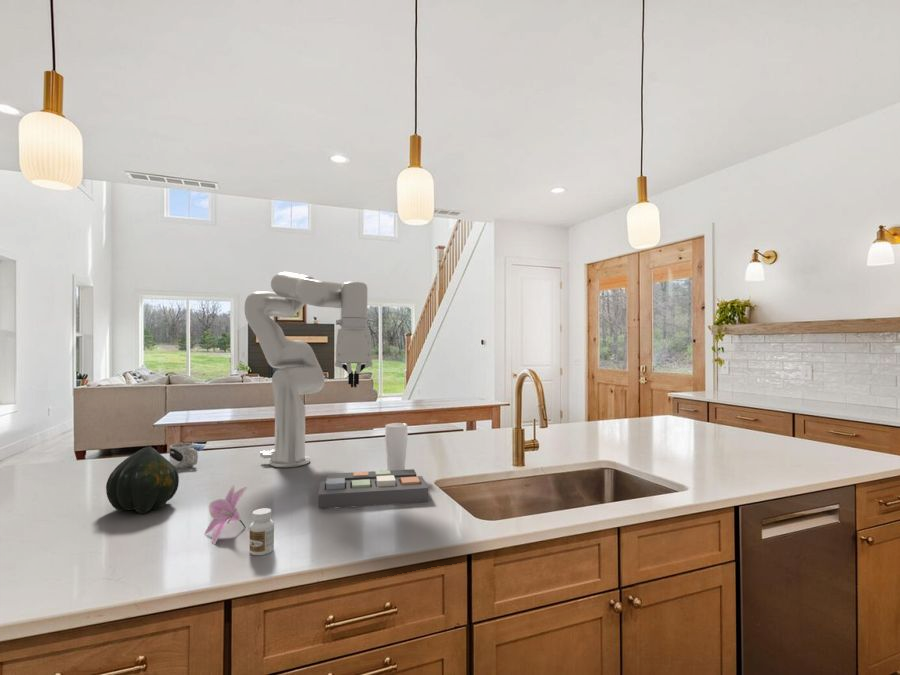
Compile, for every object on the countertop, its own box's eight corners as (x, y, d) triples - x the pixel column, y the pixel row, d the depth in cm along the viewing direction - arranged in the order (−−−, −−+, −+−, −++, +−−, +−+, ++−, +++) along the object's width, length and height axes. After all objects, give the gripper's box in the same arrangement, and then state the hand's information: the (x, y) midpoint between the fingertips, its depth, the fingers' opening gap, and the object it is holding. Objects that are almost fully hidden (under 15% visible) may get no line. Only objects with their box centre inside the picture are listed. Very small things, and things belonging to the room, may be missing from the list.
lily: (212, 527, 106) (191, 495, 102) (264, 502, 109) (246, 470, 105) (210, 566, 96) (187, 533, 92) (267, 537, 99) (248, 504, 95)
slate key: (325, 493, 119) (326, 484, 119) (326, 488, 123) (326, 478, 123) (344, 492, 120) (344, 483, 120) (344, 486, 124) (344, 477, 124)
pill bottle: (244, 553, 91) (244, 513, 91) (260, 544, 95) (261, 505, 95) (262, 557, 89) (262, 516, 89) (278, 548, 93) (278, 508, 94)
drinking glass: (403, 477, 141) (403, 427, 141) (381, 476, 142) (382, 426, 142) (409, 471, 147) (410, 423, 147) (389, 470, 149) (389, 422, 149)
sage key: (351, 495, 120) (352, 485, 120) (351, 489, 125) (351, 480, 125) (370, 493, 121) (370, 484, 121) (369, 488, 126) (369, 479, 126)
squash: (110, 503, 102) (158, 442, 111) (80, 493, 110) (127, 437, 119) (162, 530, 111) (203, 472, 120) (131, 519, 119) (171, 465, 128)
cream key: (377, 490, 121) (377, 481, 121) (376, 485, 126) (376, 476, 126) (395, 489, 122) (395, 480, 122) (393, 484, 127) (393, 475, 127)
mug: (164, 467, 150) (164, 446, 150) (183, 462, 156) (183, 442, 156) (187, 470, 146) (187, 449, 146) (205, 465, 153) (205, 444, 153)
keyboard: (318, 509, 115) (318, 491, 115) (321, 488, 130) (321, 472, 130) (428, 501, 121) (428, 484, 121) (418, 482, 136) (418, 467, 136)
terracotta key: (402, 491, 123) (402, 482, 123) (400, 486, 127) (400, 477, 127) (419, 490, 124) (420, 481, 124) (417, 485, 128) (417, 476, 128)
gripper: (327, 323, 134) (326, 388, 134) (380, 324, 137) (380, 388, 137) (328, 324, 141) (327, 386, 141) (378, 325, 144) (378, 385, 144)
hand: (353, 386), depth 139 cm, fingers closed
